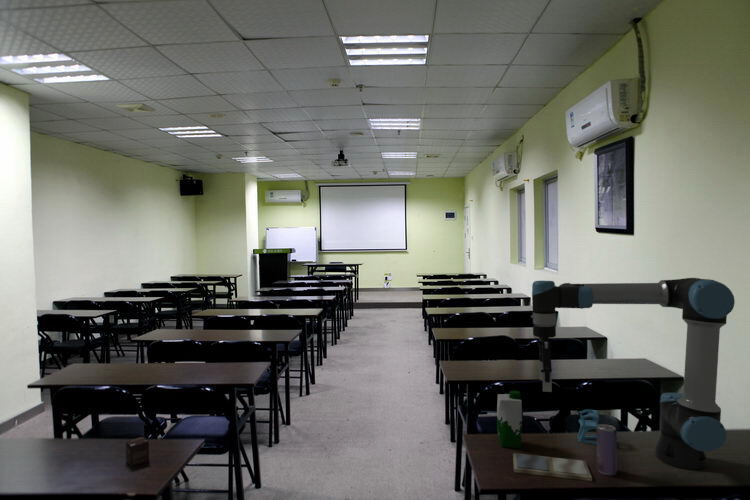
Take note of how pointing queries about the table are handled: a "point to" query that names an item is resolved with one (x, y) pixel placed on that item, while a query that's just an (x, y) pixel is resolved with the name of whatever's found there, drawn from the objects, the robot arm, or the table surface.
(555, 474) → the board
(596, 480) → the table surface
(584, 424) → the chair
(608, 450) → the beverage can
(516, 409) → the milk carton
